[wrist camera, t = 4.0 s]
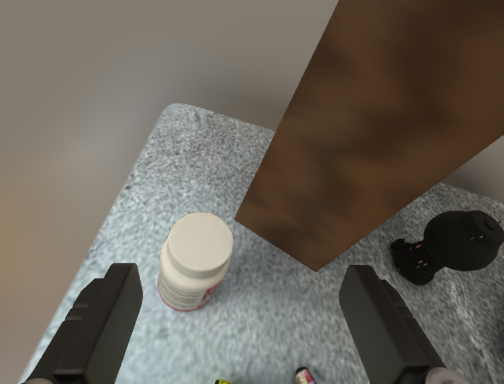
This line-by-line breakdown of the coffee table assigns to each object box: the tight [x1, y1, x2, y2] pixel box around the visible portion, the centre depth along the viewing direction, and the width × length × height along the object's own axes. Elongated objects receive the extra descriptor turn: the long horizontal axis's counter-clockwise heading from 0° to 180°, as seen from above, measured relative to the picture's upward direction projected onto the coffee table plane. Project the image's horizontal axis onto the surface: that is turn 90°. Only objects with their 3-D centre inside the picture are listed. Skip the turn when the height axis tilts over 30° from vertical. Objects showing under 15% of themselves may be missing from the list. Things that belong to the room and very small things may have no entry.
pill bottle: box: [158, 212, 234, 312], centre depth 19 cm, size 5×5×8 cm
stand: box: [234, 0, 504, 272], centre depth 20 cm, size 10×10×26 cm
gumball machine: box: [391, 210, 504, 285], centre depth 27 cm, size 7×6×10 cm
